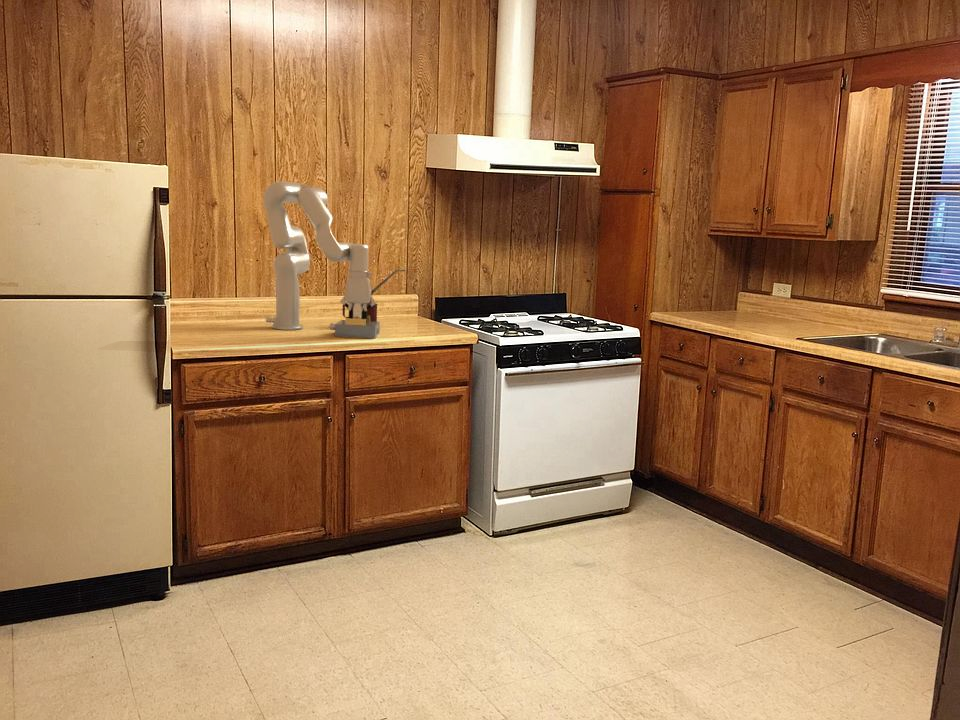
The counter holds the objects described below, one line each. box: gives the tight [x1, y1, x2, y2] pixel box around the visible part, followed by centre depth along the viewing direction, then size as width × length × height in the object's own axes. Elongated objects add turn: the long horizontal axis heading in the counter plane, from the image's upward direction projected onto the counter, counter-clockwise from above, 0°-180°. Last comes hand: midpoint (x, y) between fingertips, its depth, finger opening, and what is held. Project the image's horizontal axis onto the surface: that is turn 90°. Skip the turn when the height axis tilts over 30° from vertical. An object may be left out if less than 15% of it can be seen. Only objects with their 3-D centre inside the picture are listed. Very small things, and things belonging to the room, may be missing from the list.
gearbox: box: [329, 315, 381, 339], centre depth 340 cm, size 19×13×8 cm
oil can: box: [342, 269, 406, 322], centre depth 364 cm, size 28×11×25 cm, turn 117°
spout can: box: [352, 303, 364, 319], centre depth 339 cm, size 5×5×12 cm
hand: (357, 319), depth 340 cm, fingers closed on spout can, 4 cm apart
